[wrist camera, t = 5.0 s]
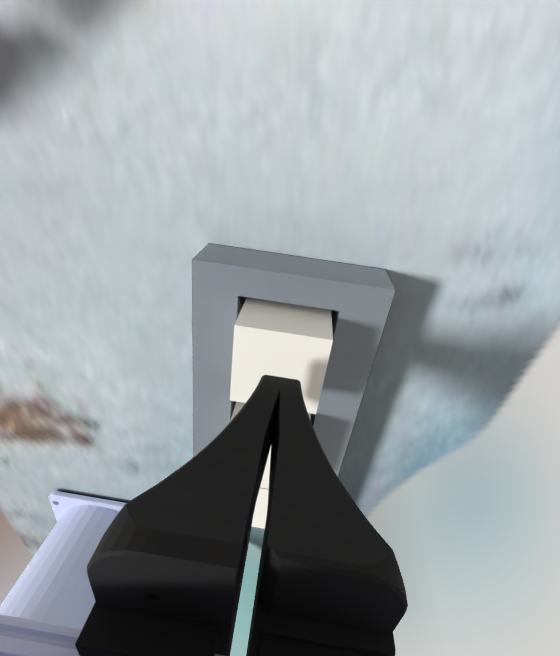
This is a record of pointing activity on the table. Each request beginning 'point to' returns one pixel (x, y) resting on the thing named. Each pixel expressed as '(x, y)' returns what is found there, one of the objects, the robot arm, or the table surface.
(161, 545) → the robot arm
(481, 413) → the table surface
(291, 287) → the button board
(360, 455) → the table surface
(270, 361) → the button
